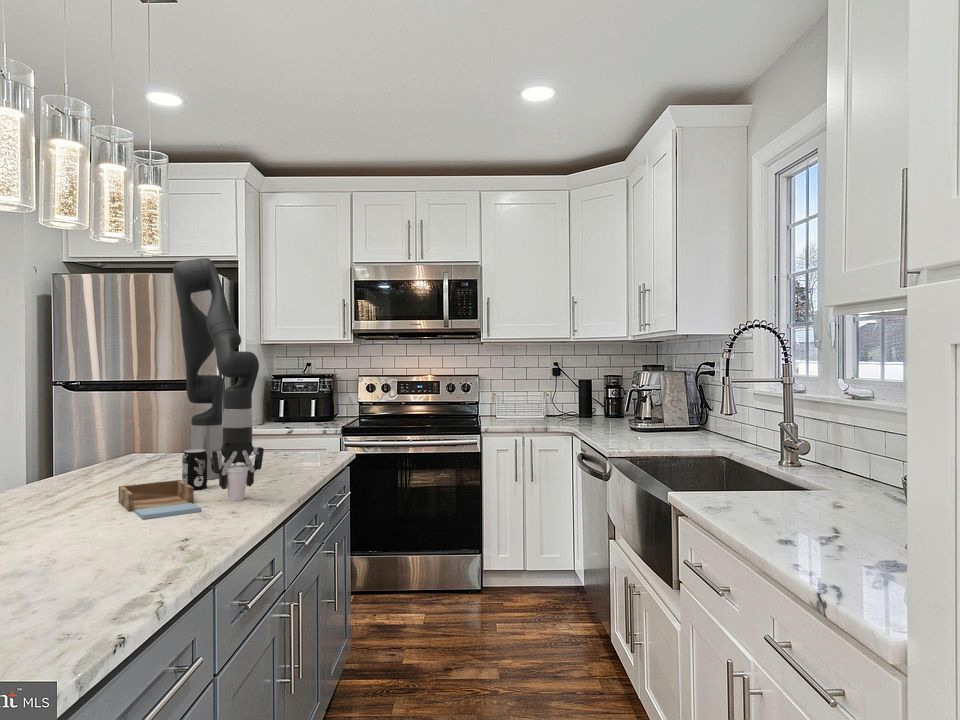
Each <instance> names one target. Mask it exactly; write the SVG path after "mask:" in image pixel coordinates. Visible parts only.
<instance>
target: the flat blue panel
mask: <svg viewBox="0 0 960 720" xmlns="http://www.w3.org/2000/svg"><path fill="white" fill-rule="evenodd" d="M133 512H134V513H135V514H136V516H138V517H139V518H140V519H141V520H149V519H150V520H151V519H156V518H157V519H158V518H163V517H170V516H179V515H186V514H193V513H201V512H202V506H201V507H200V506H199V505H197V504H195V503H194V504H192V503H191V502H189V503H181V504H173V505H165V506H157V507H149V508H141V509H134V511H133Z"/></svg>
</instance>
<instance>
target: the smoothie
mask: <svg viewBox="0 0 960 720" xmlns="http://www.w3.org/2000/svg"><path fill="white" fill-rule="evenodd" d="M248 470H249V466H247V465H244V464H237V463H234V464H231V466H230V468H228V471H227V473H226V475H227V488H226V491H227V496H228V498H227V499H228V501H230V502H237V501H238V502H239V501H240V502H241V501H243V500H245V494H246V488H247V485H246V481H247V474H248Z"/></svg>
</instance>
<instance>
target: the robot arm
mask: <svg viewBox="0 0 960 720" xmlns="http://www.w3.org/2000/svg"><path fill="white" fill-rule="evenodd" d="M172 270H173V271H172V273H173V283H174V287H175V292H176V296H177V297H176V298H177V302H178V306H179V307H178V309H179V316H180V327H181V328H180V329H181V339H182V341H181V342H182V347H183V353H184V361H185V377H186V379H185V380H186V383H185V384H186V395H187V398H188V400H189V401H188V402H190V403H191V404H211V407H210V408H209V409H208V410H206V411H204V412H200V413H198V414H194V415H193V416H192V417H191V427H190V428H191V429H190V432H191V433H190V434H191V443H190V444H191V445H190V447H191V448H190V449H205V450H206V454H207V480H214V479H218V485H219V487H220V488H221V489H222V490H227V475H226V473H227V471H228V468H230V466H231V465H234V463H236V464H237V463H239V464H242V463H243V465H247V466H249V470H248V474H247V481H246V487H252V486H253V484H254V482H255V480H254V479H255V472H256V471H258V470H261V469H262V465H263V458H264V457H263V456H264V452H265V450H264V448H263V447H261V446H257V447H256V446H255V447H254V446H253V409H252V408H253V407H252V404H253V403H252V402H253V399H252V397H253V391H254V388H255V384H256V381H257V378H258V373H259V368H260V363H259V358H258V357H257V355H256V354H255V353H254V352H252V351H240V350H239V351H238V350H236V349H237V348H238V347H239V346H240V345H241V343H242V337H241V335H240V333H239V330H238V329H237V327H236V324H235V322H234V319H233V317H232V315H231V312H230V309H229V306H228V303H227V299H226V295H225V292H224V288H223V285H222V281H221V279H220V276H219V273H218V270H217V268H216V266H215V264H214V262H213V261H212V260H211V259H210V258H205V257H204V258H202V257H200V258H195V259H187V260H180V261H178V262H175V263H174V265H173V269H172ZM206 291H210V293H211V301H210V306H209V308H208V312H207V315H206V314H205V313H204V312H203V311H202V310H201V309H200V308H198V306H197V305H196V304H195V302H194V301H193V299H192V294H194V293H201V292H206ZM214 350H215V359H216V360H215V361H216V367H217V371H218V372H219V373H220V374H221V375H220V374H219V375H217V374H215V375H214V374H198V373H199V372H200V369H201V367H202V366H203V364H204V363H205V362H206V361H207V359H208V358H209V357H210V356H211V355H212V353H213V352H214ZM234 350H235V351H234ZM223 377H226V378H238V379H237V381H236V384H234V385H231V386H228V387H226V388H225V383H224V379H223ZM252 453H254V455H255V456H254V462H253V463H254V464H253V463H252V460H251V458H250V456H251V455H252ZM223 457H224V459H223Z"/></svg>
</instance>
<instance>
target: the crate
mask: <svg viewBox="0 0 960 720" xmlns="http://www.w3.org/2000/svg"><path fill="white" fill-rule="evenodd" d="M194 492H195V491H194V487H192V486H190V485H188V484H187V483H185V482H183V481H182V479H175V480H167V481H166V480H165V481H157V482H155V481H154V482H149V483H148V482H147V483H137V484H127V485H126V484H125V485H120V486H118V503H119V504H120V505H121V506H122V507H123V508H124V509H125V510H126V511H127V512H129V513H130V512H131V513H132V512H134V509H141V508H149V507H157V506H165V505H173V504H181V503H189V502H191V503H192V504H195V503H194V502H195V501H194V498H195V497H194V495H195V494H194Z"/></svg>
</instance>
